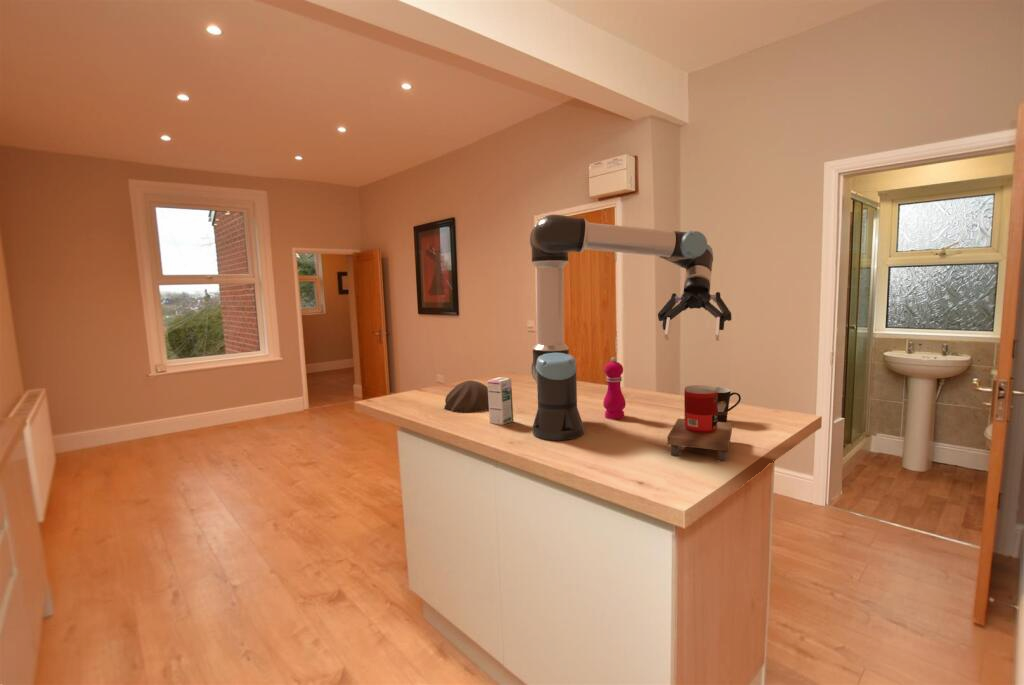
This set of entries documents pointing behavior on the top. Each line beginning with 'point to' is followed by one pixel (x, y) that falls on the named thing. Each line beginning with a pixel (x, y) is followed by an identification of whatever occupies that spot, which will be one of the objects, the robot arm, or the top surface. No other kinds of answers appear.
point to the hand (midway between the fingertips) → (691, 337)
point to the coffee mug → (724, 403)
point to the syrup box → (500, 400)
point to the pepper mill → (614, 391)
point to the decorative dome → (467, 397)
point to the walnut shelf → (700, 438)
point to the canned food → (701, 408)
